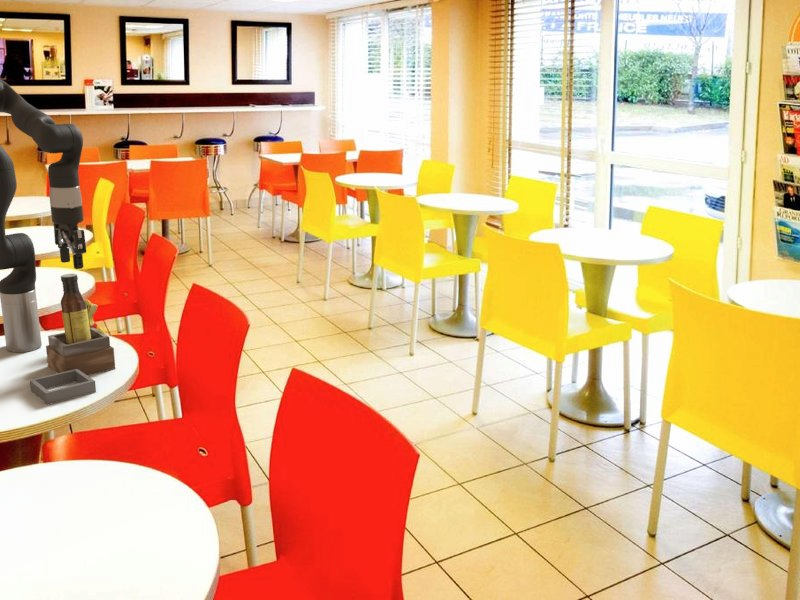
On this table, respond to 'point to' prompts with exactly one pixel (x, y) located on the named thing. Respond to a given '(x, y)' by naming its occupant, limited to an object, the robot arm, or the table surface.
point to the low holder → (65, 393)
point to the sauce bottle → (74, 311)
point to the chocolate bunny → (91, 310)
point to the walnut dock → (81, 353)
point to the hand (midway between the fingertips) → (72, 265)
